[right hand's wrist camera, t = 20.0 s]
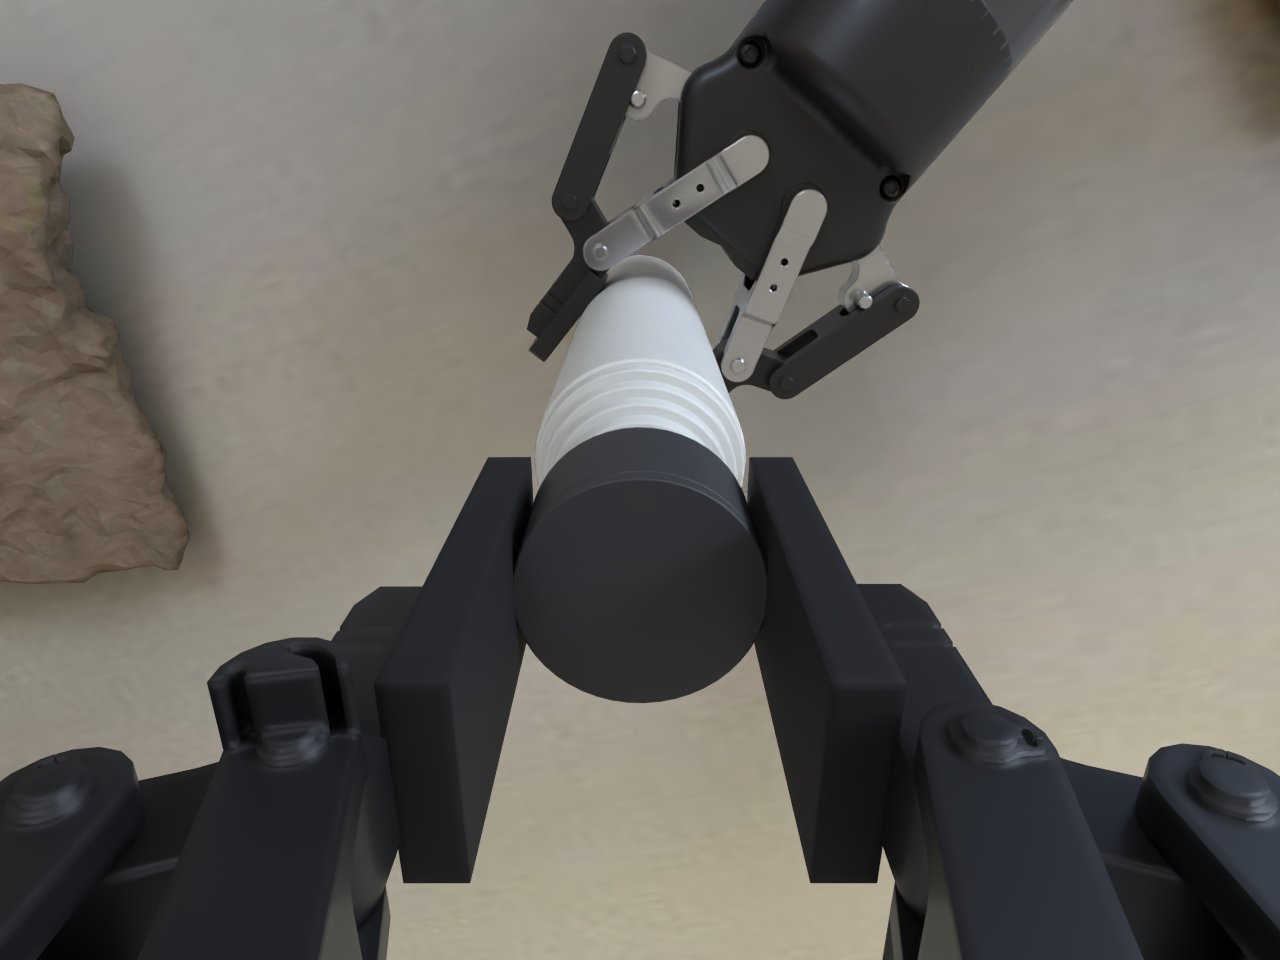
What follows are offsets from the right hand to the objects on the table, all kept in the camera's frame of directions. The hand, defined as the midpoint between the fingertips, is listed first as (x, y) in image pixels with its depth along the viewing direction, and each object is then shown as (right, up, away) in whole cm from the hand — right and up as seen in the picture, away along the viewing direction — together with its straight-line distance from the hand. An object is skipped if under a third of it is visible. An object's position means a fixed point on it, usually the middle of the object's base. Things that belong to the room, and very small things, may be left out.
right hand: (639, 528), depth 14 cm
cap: (0, -1, -2) cm, 2 cm away
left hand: (-2, +4, +16) cm, 16 cm away
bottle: (0, +8, +21) cm, 23 cm away
